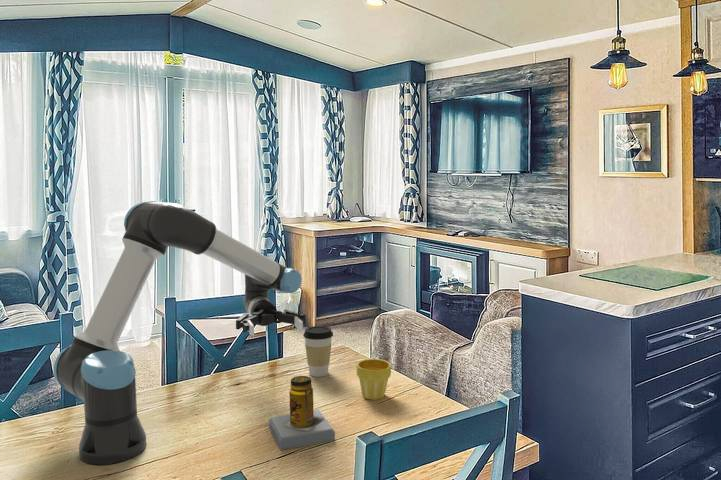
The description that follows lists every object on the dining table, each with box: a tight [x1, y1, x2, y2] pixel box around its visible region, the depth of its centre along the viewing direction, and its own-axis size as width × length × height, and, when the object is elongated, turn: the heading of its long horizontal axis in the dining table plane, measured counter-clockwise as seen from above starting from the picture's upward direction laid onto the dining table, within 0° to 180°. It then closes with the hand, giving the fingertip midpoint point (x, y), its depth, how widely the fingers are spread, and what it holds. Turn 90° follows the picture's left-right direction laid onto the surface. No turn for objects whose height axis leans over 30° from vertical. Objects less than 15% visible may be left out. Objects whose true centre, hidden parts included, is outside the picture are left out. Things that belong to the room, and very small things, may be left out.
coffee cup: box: [303, 325, 334, 378], centre depth 193 cm, size 10×10×15 cm
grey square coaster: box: [268, 409, 336, 451], centre depth 150 cm, size 14×13×3 cm
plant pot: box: [356, 358, 392, 401], centre depth 175 cm, size 10×10×10 cm
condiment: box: [283, 375, 325, 431], centre depth 150 cm, size 7×8×12 cm
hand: (277, 328), depth 160 cm, fingers open, 13 cm apart
